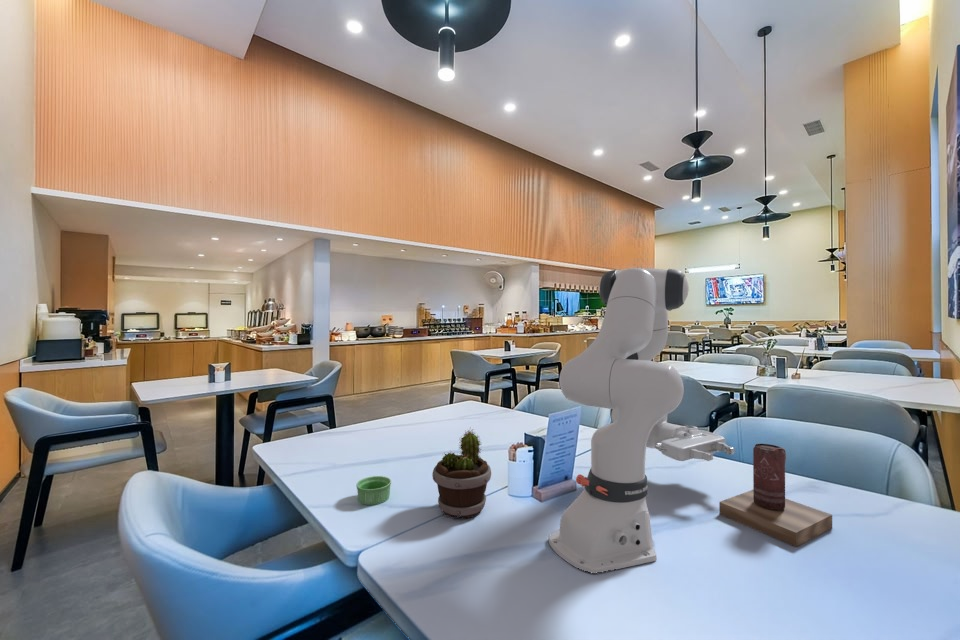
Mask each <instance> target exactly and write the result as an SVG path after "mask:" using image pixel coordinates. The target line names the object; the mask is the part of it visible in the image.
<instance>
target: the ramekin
mask: <svg viewBox="0 0 960 640" xmlns="http://www.w3.org/2000/svg"><path fill="white" fill-rule="evenodd" d="M391 484H392V480H391V478H389V477H387V476H383V475H380V476H379V475H375V476H369V477H365V478H362V479H360V480H359V481H357V483H356V489H357V499H358V503H360V504H361V505H364V506H365V505H366V506H375V505H380V504H383V503H385V502H386V501H387V500H389V499H390V494H391Z"/></svg>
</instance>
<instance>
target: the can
mask: <svg viewBox="0 0 960 640" xmlns="http://www.w3.org/2000/svg"><path fill="white" fill-rule="evenodd" d="M752 451H753V453H752V457H753V458H752V459H753V460H752V461H753V465H752V466H753V470H752V471H753V472H752V474H753V475H752V476H753V477H752V478H753V480H752V481H753V487H752V490H753V499H754V502H755V503H756V505H758V506H759V507H762V508H764V509H768V510H773V511H781V510H783V509H784V508H785V499H786V459H787V455H786V454H787V452H786V449H785V448H783V447H781V446H778V445H774V444H768V443H756V444H754V447H753V449H752Z"/></svg>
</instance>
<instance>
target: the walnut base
mask: <svg viewBox="0 0 960 640" xmlns="http://www.w3.org/2000/svg"><path fill="white" fill-rule="evenodd" d="M718 502H719V503H718V504H719V509H718V510H719V515H720V516H723V517H725V518H727V519H730V520H732V521H735V522H736V523H739V524H742V525H744V526H747V527H748V528H751V529H753V530H755V531H758V532H760V533H763V534H765V535H767V536H769V537H771V538H774V539H777V540H779V541H781V542H784V543H785V544H788V545H791V546H793V547H795V548H798V547H799V546H801V545H803V544H805V543H807V542H809V541H810V540H812V539H815V538H816V537H818V536H820V535H822V534H824V533H825V532H828V531H830V530H831V529H833V514H831V513H829V512H826V511H822V510H820V509H816V508H814V507H811V506H808V505H805V504H802V503H800V502H797V501H794V500H791V499H787V498H785V508H784V509H783V510H781V511H773V510H768V509H764V508H762V507H759V506H758V505H756V503H755V502H754V499H753V489H751V490H748V491H745V492H743V493H741V494H737V495H734V496H731V497H729V498H726V499H724V500H721V501H718Z"/></svg>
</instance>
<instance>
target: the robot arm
mask: <svg viewBox="0 0 960 640" xmlns="http://www.w3.org/2000/svg"><path fill="white" fill-rule="evenodd" d="M689 290H690V289H689V283H688V280H687V278H686V274H685V273H684V272H683V271H681V270H679V269H675V268H674V269H673V268H668V269H663V268H662V269H661V268H643V267H641V268H639V267H631V268H626V269H612V270H608V271H606V272H605V273H604V274H603V275H602V276H601V279H600V283H599V287H598V292H599V296H600V301H601V302H602V304H604V305H605V306H606V307H605V311H604V316H603V319H602V320H603V321H602V323H601V327H600V330H599V332H598V334H597V336H596V337H595V339H594V340H593V341H592V342H591V344H590V345H589V346H588V347H587V348H585V350H584V351H582V352H581V353H580V354H578V355H577V356H575V357H573V358H571V359H568V361H566V362H565V364H564V365H563V366H562V369H561V370H560V373H559V379H558V380H559V387H560V391H561V392H562V394H563V396H564V397H565V399H567V400H568V401H571V402H573V403H577V404H579V405H582V406H586V407H593V408H601V409H610V410H609V411H610V412H609V413H610V414H609V415H610V416H609V417H610V421H611V423H608V424H606V425H603V426H600V427H599V428H598V429H596V430H595V431H594V432H593V434H592V437H591V440H590V454H591V455H590V458H591V460H590V465H591V466H590V469H589V470H588V474H587V477H586V476H584V475H583V474H578V475H576V477H575V482H576V483H577V484H578V485H580V486H582V487H584V490H583V491H582V492H581V493H580V494H579V495H578V496H577V497H576V499H574V500H573V501H572V503H571V504H570V505H569V506H568V507H567V508H566V509H565V510H564V511H563V512H562V515H561V519H560V524H559V525H560V526H559V529H558V530H555V531H554V532H551V533H550V534H549V535H548V544H549V546H550V548H551V549H552V550H553V551H554V552H555V553H556V554H557V555H558V556H559V557H560V558H561V559H563V560H564V561H566V562H567V563H568V564H569V565H571V566H574V568H577V569H578V568H579V570H581V569H582V570H581V571H583V570H584V571H583V572H585V571H588V572H592V573H596V572H602V571H606V572H609V571H608V570H611V571H615V570H614V569H616V570H619V569H624V568H629V567H634V566H638V565H642V564H648V563H652V562H656V560H657V559H658V558H657V552H656V550H655V549H654V547H655V542H654V539H653V536H652V526H651V525H652V524H651V517H650V512H649V508H648V505H647V498H646V497H647V495H648V488H649V483H648V476H647V475H646V452H647V448H649V449H656V450H658V452H660V453H661V454H662V455H664V456H665V457H668V458H670V459H672V460H675V461H679V462H685V461H689V460H692V459H694V460H695V459H696V460H704V461H707V462H710V461H712V460H714V454H715V453H718V452H724V454H725V455H730V456H731V455H735V452H736V451H735V448H734V447H733V446H729V445H728V444H727V442H726V441H727V440H726V438H725V437H724V436H722V435H720V434H717V433H714V432H711V431H707V430H703V429H699V428H698V426H695V425H680V424H674V423H670V422H668V420H669V414H671V413H672V412H674V411H675V410H676V409H677V408H678V406H679V405H680V404H681V402H682V400H683V397H684V394H685V393H684V392H685V389H684V381H683V379H682V376H681V375H680V373H679V372H678V370H677V369H676V368H675V367H674V366H673V365H670V364H666V363H662V362H658V361H654V358H656V357H657V356H659V354H661V353H662V351H664V350H665V347H666V345H667V341H668V335H669V316H668V314H669V313H668V311H670V312H671V311H673V310H677V309H680V307H682V306H683V305H684V304H685V302H686V299H687V297H688V295H689ZM588 572H587V573H588ZM592 573H591V574H592ZM602 573H603V572H602Z"/></svg>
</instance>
